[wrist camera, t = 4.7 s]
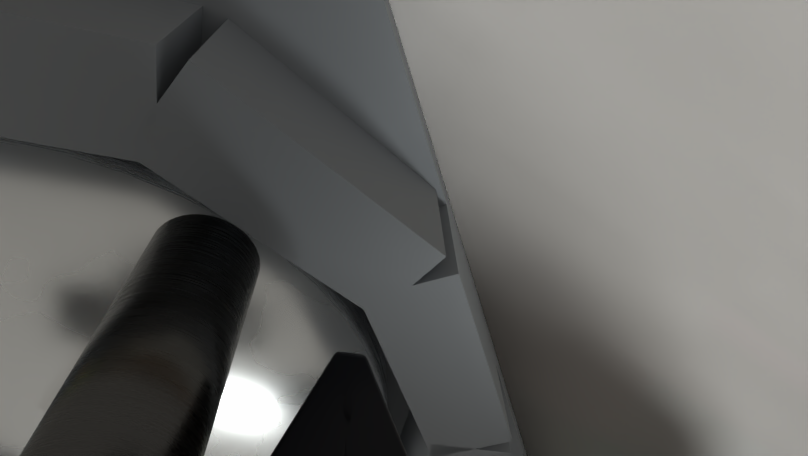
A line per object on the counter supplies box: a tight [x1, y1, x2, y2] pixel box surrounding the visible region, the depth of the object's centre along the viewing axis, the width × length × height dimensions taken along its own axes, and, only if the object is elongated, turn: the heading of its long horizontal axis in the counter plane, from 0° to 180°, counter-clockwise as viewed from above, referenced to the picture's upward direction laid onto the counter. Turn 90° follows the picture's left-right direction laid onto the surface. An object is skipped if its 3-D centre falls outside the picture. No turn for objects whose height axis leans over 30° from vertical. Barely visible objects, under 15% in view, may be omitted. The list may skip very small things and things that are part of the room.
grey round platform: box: [0, 0, 527, 456], centre depth 15 cm, size 22×22×4 cm
